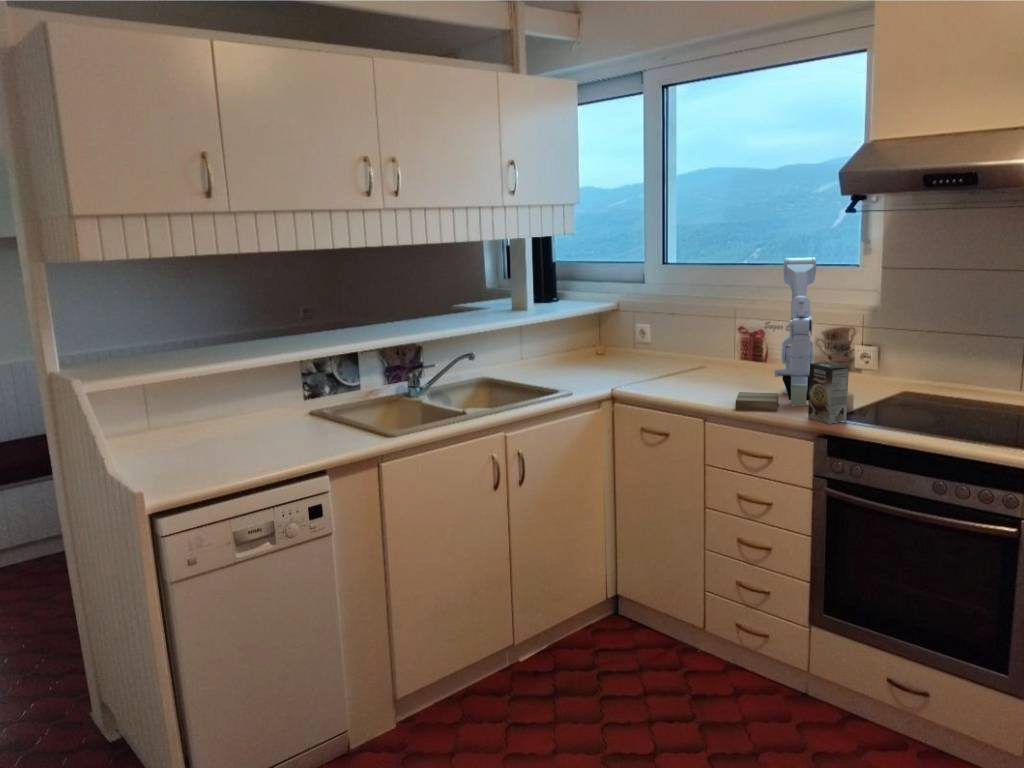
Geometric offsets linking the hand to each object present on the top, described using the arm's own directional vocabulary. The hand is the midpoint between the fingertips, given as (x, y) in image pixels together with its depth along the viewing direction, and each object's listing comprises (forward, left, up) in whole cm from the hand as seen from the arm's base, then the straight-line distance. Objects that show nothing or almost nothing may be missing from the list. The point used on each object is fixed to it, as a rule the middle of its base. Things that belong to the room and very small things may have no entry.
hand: (798, 399), depth 253 cm
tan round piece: (+6, +13, -2) cm, 14 cm away
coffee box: (+19, +8, -2) cm, 21 cm away
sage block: (0, 0, -1) cm, 1 cm away
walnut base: (+5, -12, -1) cm, 13 cm away
